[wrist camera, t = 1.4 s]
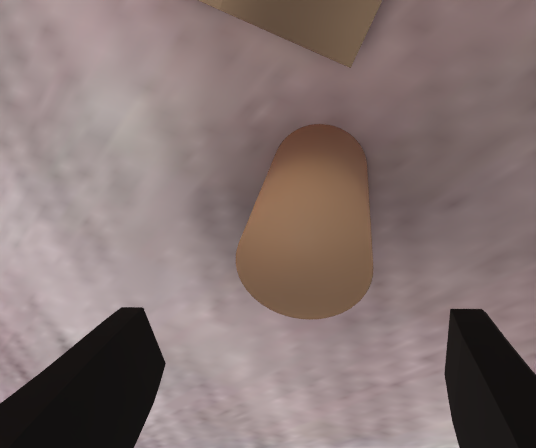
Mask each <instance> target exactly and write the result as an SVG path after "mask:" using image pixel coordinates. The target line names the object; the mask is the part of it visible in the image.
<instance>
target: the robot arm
mask: <svg viewBox="0 0 536 448" xmlns="http://www.w3.org/2000/svg"><path fill="white" fill-rule="evenodd" d="M165 364H166V363H165V361H164V358H163V356H162V353H161V351H160V348H159V346H158V343H157V341H156V338H155V336H154V333H153V331H152V328H151V326H150V323H149V321H148V318H147V316H146V313H145V311H144V308H134V307H122V308H120V309H119V310H117V311H116V312H115V313H113V314H112V315H111V316H110V317H108V318H107V319H106V320H104V321H103V322H102V323H101V324H100V325H98V326H97V327H96V328H95V329H93V330H92V331H91V332H90V333H89V334H87V335H86V336H85V337H84V338H83V339H81V340H80V341H79V342H78V343H76V344H75V345H74V346H73V347H72V348H70V349H69V350H68V351H67V352H65V353H64V354H63V355H62V356H61V357H59V358H58V359H57V360H56V361H54V362H53V363H52V364H51V365H50V366H48V367H47V368H46V369H45V370H43V371H42V372H41V373H40V374H38V375H37V376H36V377H34V378H33V379H32V380H31V381H29V382H28V383H27V384H25V385H24V386H23V387H21V388H20V389H19V390H17V391H16V392H15V393H14V394H12V395H11V396H10V397H8V398H7V399H6V400H4V401H3V402H2V403H1V404H0V448H134V446H135V444H136V442H137V439H138V437H139V435H140V433H141V431H142V428H143V426H144V424H145V422H146V419H147V417H148V415H149V412H150V410H151V408H152V405H153V403H154V400H155V397H156V394H157V391H158V388H159V385H160V381H161V378H162V374H163V371H164V367H165ZM445 380H446V386H447V392H448V399H449V405H450V410H451V416H452V422H453V425H454V429H455V433H456V436H457V440H458V444H459V447H460V448H536V374H535V373H534V372H533V371H532V370H531V369H530V367H529V366H528V365H527V364H526V363H525V361H524V360H523V359H522V358H521V357H520V355H519V354H518V353H517V352H516V350H515V349H514V348H513V347H512V346H511V344H510V343H509V342H508V341H507V339H506V338H505V337H504V335H503V334H502V333H501V332H500V330H499V329H498V328H497V326H496V325H495V324H494V322H493V321H492V320H491V318H490V317H489V316H488V314H487V313H486V312H484V311H483V310H482V309H450V320H449V331H448V342H447V353H446V364H445Z"/></svg>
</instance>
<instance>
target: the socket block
mask: <svg viewBox="0 0 536 448" xmlns="http://www.w3.org/2000/svg"><path fill="white" fill-rule="evenodd" d="M198 1H201V2H203V3H205V4H207V5H210V6H212V7H214V8H216V9H219V10H221V11H223V12H225V13H228V14H230V15H232V16H234V17H237V18H239V19H241V20H243V21H246V22H248V23H250V24H252V25H255V26H257V27H259V28H261V29H264V30H266V31H268V32H271V33H273V34H275V35H277V36H280V37H282V38H284V39H286V40H289V41H291V42H293V43H295V44H298V45H300V46H302V47H304V48H307V49H309V50H311V51H313V52H316V53H318V54H320V55H322V56H325V57H327V58H329V59H331V60H334V61H336V62H338V63H340V64H343V65H345V66H347V67H349V68H351V66H352V63H353V61H354V59H355V57H356V55H357V53H358V51H359V49H360V47H361V44H362V42H363V40H364V38H365V36H366V34H367V32H368V30H369V27H370V25H371V23H372V21H373V19H374V17H375V15H376V13H377V11H378V8H379V6H380V4H381V2H382V0H198Z"/></svg>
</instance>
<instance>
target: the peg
mask: <svg viewBox="0 0 536 448" xmlns="http://www.w3.org/2000/svg"><path fill="white" fill-rule="evenodd" d="M236 267H237V272H238V275H239V278H240V280H241V282H242V284H243V285H244V287H245V288H246V290H247V291H248V292H249V293H250V294H251V295H252V296H253V297H254V298H255V299H256V300H257V301H258V302H260V303H261V304H262V305H264V306H265V307H267V308H269V309H270V310H273V311H275V312H277V313H279V314H282V315H285V316H289V317H293V318H299V319H322V318H328V317H332V316H335V315H338V314H341V313H343V312H345V311H347V310H349V309H350V308H352V307H353V306H354V305H356V304H357V303H358V302H359V301H360V300H361V299H362V298H363V296H364V295H365V294H366V292H367V290H368V289H369V287H370V284H371V281H372V277H373V255H372V239H371V223H370V206H369V190H368V174H367V162H366V157H365V154H364V151H363V149H362V147H361V146H360V144H359V143H358V142H357V140H356V139H355V138H354V137H353V136H351V135H350V134H349V133H347V132H346V131H344V130H342V129H340V128H337V127H335V126H331V125H324V124H314V125H308V126H305V127H302V128H300V129H297V130H296V131H294V132H292V133H291V134H290V135H288V136H287V137H286V138H285V139H284V140H283V142H282V143H281V144H280V146H279V148H278V150H277V152H276V154H275V157H274V159H273V162H272V164H271V166H270V169H269V171H268V174H267V176H266V178H265V181H264V183H263V186H262V188H261V191H260V193H259V195H258V198H257V200H256V203H255V205H254V208H253V210H252V212H251V215H250V217H249V220H248V222H247V225H246V227H245V229H244V232H243V234H242V237H241V239H240V242H239V244H238V247H237V252H236Z"/></svg>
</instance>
